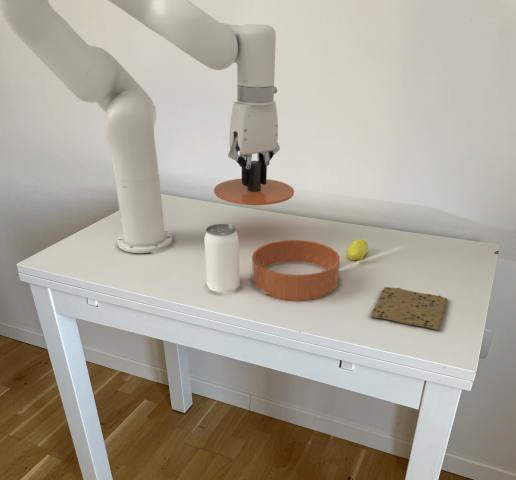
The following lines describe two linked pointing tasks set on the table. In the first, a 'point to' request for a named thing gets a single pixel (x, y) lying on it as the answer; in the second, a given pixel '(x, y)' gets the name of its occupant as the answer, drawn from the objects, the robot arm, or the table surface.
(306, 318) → the table surface
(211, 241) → the can
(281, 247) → the pot
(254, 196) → the lid
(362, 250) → the lemon
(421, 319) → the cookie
